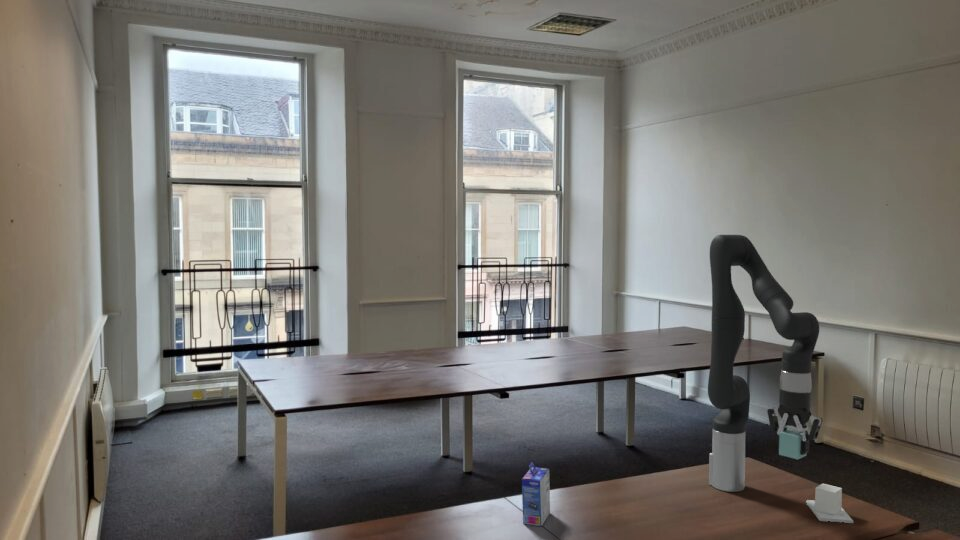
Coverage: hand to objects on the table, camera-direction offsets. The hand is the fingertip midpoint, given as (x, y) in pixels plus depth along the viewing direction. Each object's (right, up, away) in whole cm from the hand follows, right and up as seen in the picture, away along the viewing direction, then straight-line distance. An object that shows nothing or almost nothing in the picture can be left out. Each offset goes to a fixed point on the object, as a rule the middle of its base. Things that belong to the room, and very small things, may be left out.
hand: (792, 451), depth 179 cm
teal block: (0, -1, 0) cm, 1 cm away
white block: (+11, -17, +4) cm, 21 cm away
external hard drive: (+12, -19, +4) cm, 22 cm away
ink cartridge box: (-68, -18, +1) cm, 70 cm away
